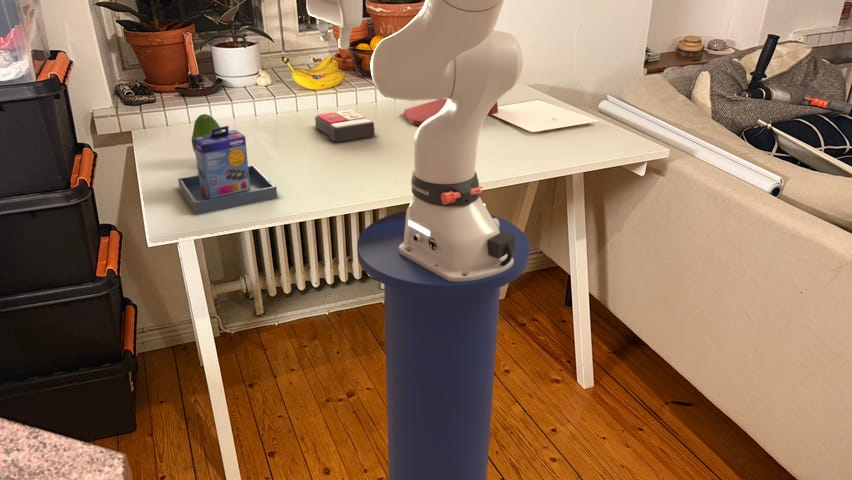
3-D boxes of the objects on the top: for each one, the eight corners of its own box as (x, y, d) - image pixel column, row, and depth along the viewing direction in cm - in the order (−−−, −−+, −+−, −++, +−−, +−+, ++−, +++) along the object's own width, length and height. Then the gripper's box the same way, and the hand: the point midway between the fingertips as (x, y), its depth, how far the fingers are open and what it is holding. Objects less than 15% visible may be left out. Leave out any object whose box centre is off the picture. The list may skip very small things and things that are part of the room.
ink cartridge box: (209, 200, 146) (199, 133, 139) (199, 192, 150) (189, 126, 143) (252, 189, 151) (244, 124, 144) (242, 182, 155) (234, 117, 148)
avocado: (190, 168, 164) (182, 118, 158) (202, 157, 171) (195, 108, 165) (223, 169, 163) (216, 119, 157) (233, 158, 170) (227, 109, 164)
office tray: (277, 197, 148) (276, 186, 147) (196, 214, 141) (194, 203, 140) (255, 175, 160) (254, 164, 158) (179, 189, 153) (177, 178, 152)
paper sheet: (522, 136, 179) (523, 132, 179) (476, 110, 204) (476, 106, 203) (603, 125, 185) (603, 121, 184) (548, 101, 210) (548, 97, 209)
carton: (418, 139, 190) (501, 114, 195) (416, 122, 188) (499, 97, 192) (403, 126, 200) (482, 103, 205) (400, 110, 198) (480, 87, 202)
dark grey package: (351, 108, 192) (374, 119, 180) (352, 123, 194) (375, 136, 182) (314, 113, 188) (334, 125, 176) (315, 129, 190) (335, 142, 178)
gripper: (296, -33, 143) (301, 37, 150) (336, -23, 127) (340, 55, 134) (324, -35, 145) (328, 34, 152) (367, -25, 129) (369, 51, 136)
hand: (334, 44), depth 143 cm, fingers open, 8 cm apart
